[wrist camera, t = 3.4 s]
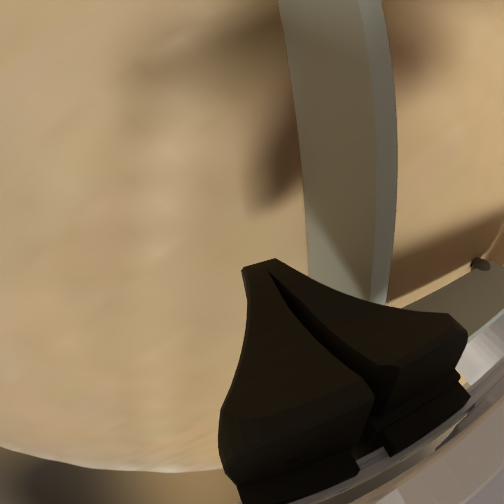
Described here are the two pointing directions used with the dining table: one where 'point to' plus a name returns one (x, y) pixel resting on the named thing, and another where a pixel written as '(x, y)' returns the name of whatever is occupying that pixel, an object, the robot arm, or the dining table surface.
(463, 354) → the robot arm
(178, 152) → the dining table surface
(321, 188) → the grey u-shaped barrier
